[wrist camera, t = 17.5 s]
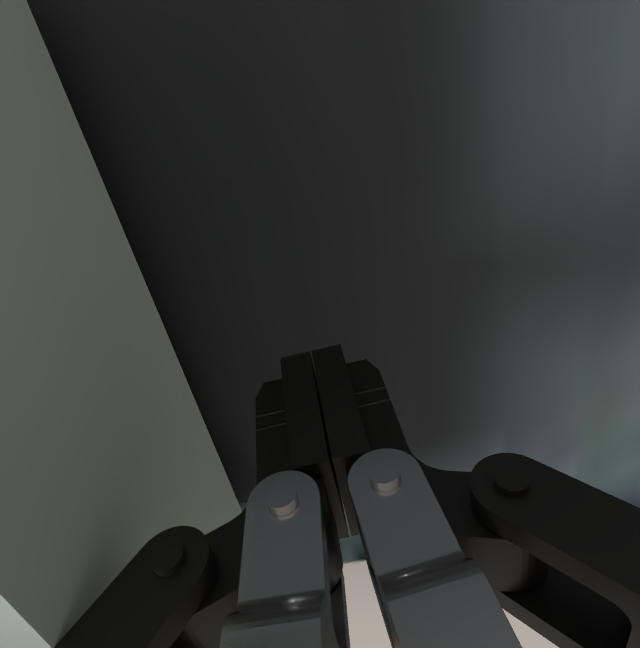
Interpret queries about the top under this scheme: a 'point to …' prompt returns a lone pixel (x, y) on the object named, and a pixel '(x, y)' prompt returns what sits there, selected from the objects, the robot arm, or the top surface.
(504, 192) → the top surface
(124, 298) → the drawer
